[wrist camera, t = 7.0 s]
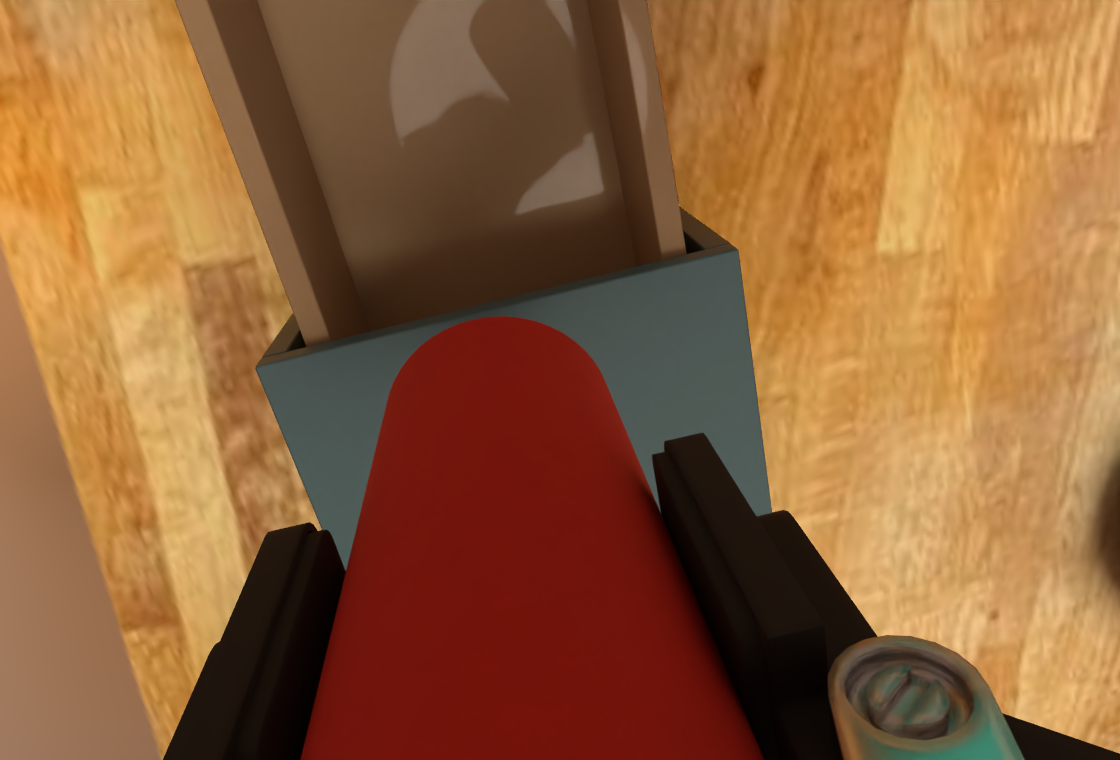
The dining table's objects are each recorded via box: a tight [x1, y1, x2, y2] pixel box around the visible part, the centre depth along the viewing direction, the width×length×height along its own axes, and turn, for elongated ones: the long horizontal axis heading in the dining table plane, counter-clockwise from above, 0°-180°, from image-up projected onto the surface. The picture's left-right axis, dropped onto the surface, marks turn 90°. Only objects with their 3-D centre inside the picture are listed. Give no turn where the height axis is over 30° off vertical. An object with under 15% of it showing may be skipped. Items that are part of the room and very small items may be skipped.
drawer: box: [175, 0, 687, 347], centre depth 24 cm, size 20×13×7 cm, turn 12°
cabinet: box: [256, 207, 772, 571], centre depth 30 cm, size 17×15×9 cm
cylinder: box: [300, 316, 764, 760], centre depth 10 cm, size 4×4×10 cm
